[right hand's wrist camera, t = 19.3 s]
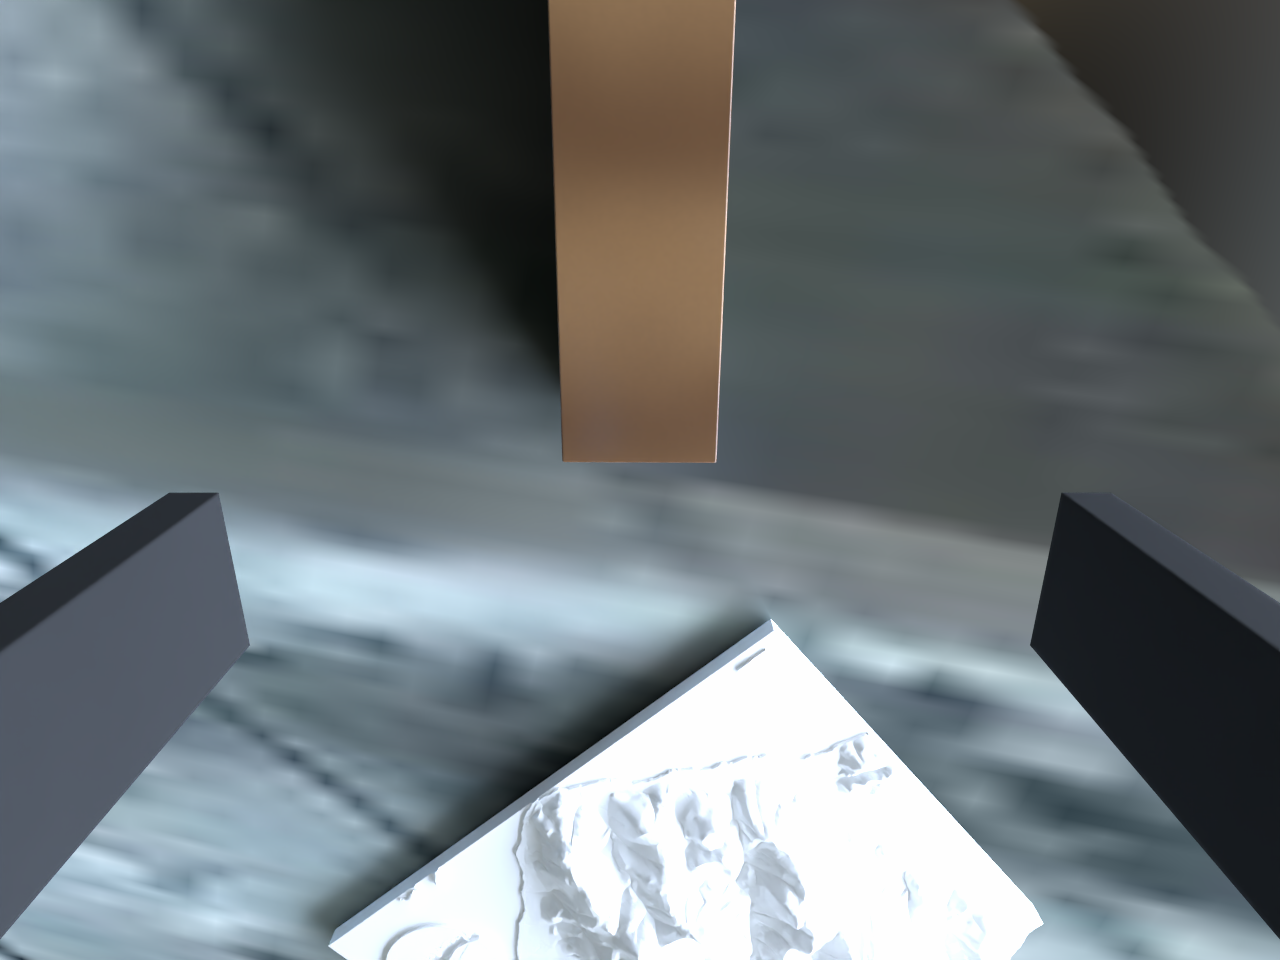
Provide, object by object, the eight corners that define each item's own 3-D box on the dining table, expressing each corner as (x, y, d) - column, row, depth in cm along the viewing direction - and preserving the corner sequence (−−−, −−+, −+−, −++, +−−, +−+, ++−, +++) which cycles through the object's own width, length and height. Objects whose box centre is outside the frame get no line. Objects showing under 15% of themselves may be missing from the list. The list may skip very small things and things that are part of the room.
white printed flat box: (335, 929, 50) (302, 1009, 45) (770, 618, 42) (787, 675, 37) (616, 1135, 57) (613, 1222, 52) (1032, 904, 49) (1075, 982, 44)
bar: (699, 403, 38) (716, 463, 30) (578, 402, 38) (562, 462, 30) (720, -214, 29) (751, -367, 21) (564, -215, 29) (535, -368, 21)
